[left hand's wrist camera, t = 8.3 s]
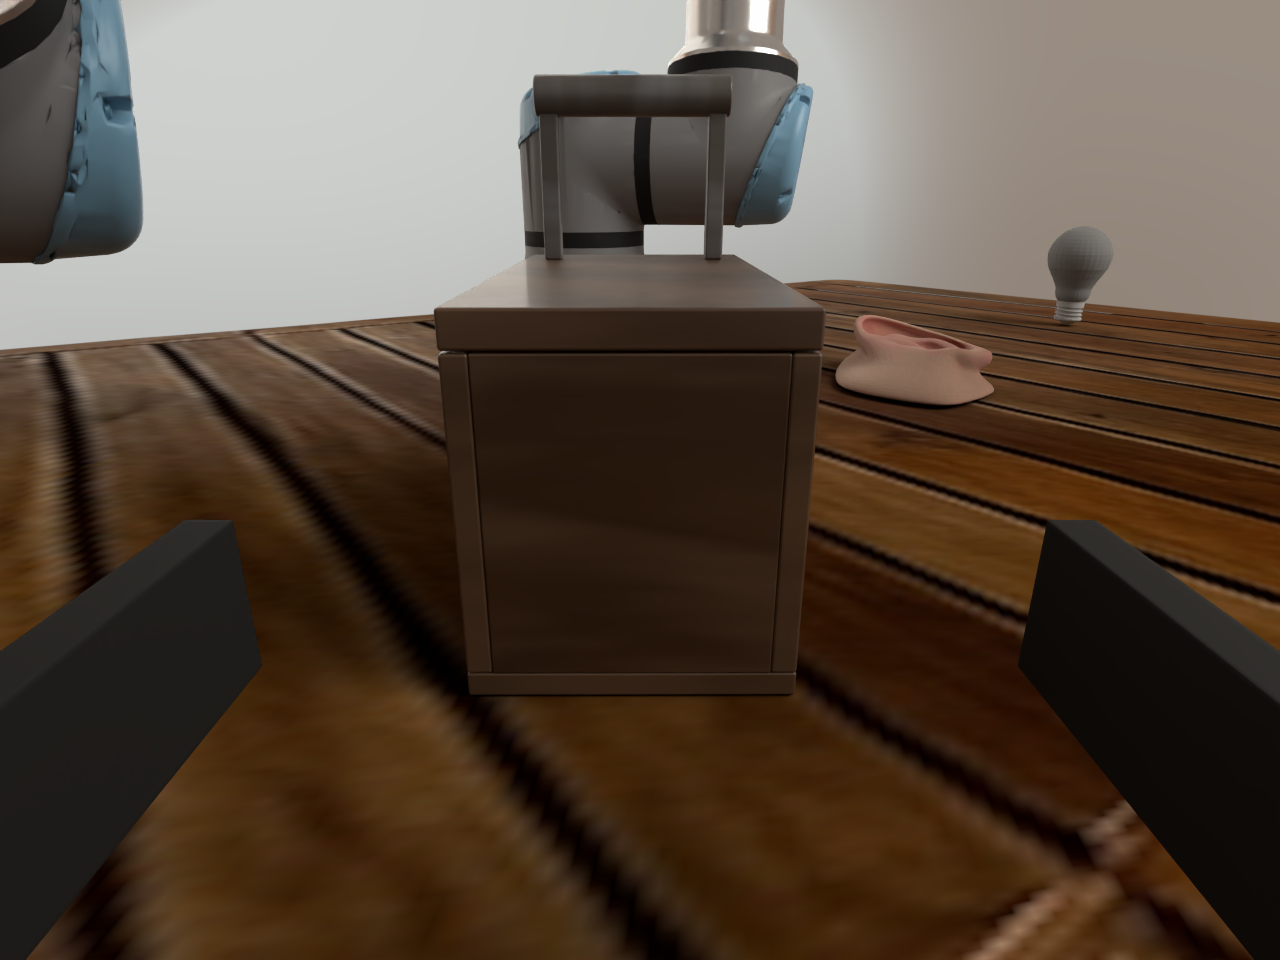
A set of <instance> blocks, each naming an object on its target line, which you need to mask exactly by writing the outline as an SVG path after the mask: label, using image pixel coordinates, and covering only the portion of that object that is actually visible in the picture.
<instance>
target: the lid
mask: <svg viewBox="0 0 1280 960" xmlns="http://www.w3.org/2000/svg"><path fill="white" fill-rule="evenodd" d="M732 97H733V80H732V76H731V75H534V78H533V100H534V109H535V114H536V116H537V117H539V125H540V149H541V172H542V196H543V220H544V244H545V255H532V256H531V257H529V258H527V259H525V260H523V261H521V262H520V263H518V264H516V265H514V266H512V267H510V268H508V269H507V270H505V271H503V272H501V273H499V274H497V275H496V276H494V277H492V278H490V279H488V280H486V281H485V282H483V283H481V284H479V285H477V286H475V287H474V288H472V289H470V290H468V291H466V292H464V293H462V294H461V295H459V296H457V297H455V298H453V299H451V300H449V301H448V302H446V303H444V304H442V305H440V306H438V307H437V308H435V309H434V320H435V330H436V341H437V348H438V350H440V351H819V350H822V348H823V344H824V332H825V320H826V309H825V308H824V307H822V306H820V305H819V304H817V303H815V302H814V301H812V300H810V299H809V298H807V297H805V296H803V295H802V294H800V293H798V292H797V291H795V290H793V289H792V288H790V287H788V286H786V285H785V284H783V283H781V282H779V281H778V280H776V279H774V278H773V277H771V276H769V275H768V274H766V273H764V272H763V271H761V270H759V269H757V268H756V267H754V266H752V265H751V264H749V263H747V262H746V261H744V260H742V259H740V258H739V257H737V256H735V255H722V237H723V209H724V181H725V153H726V125H727V117H729V116H730V114H731V108H732ZM559 117H708V124H707V159H706V195H705V231H704V255H563V234H562V205H561V175H560V146H559Z"/></svg>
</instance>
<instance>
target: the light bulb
mask: <svg viewBox="0 0 1280 960" xmlns="http://www.w3.org/2000/svg"><path fill="white" fill-rule="evenodd" d="M1112 258H1113V247H1112V244H1111V242H1110V240H1109V238H1108V237H1107V236H1106V234H1104V233H1103V232H1102V231H1100V230H1098V229H1096V228H1092V227H1078V228H1073V229H1071V230H1068V231H1066V232H1065V233H1063V234H1062V235H1061V236H1060V237H1058V238H1057V240H1056V241H1055V242H1054V243H1053V245H1052V246H1051V248H1050V250H1049V253H1048V267H1049V270H1050V272H1051V275H1052V277H1053V280H1054V283H1055V286H1056V290H1055V295H1056V298H1057V304H1056V306H1058V307H1056V309H1057V311H1055V313H1057V314H1056V315H1054V319H1056V320H1058V321H1060V323H1064V324H1073V323H1075V322H1077V321H1080V320H1081V319H1082V318H1080V316H1082V315H1081V312H1083V311H1081V310H1082V308H1084V304H1085V301H1086V300H1087V299H1088V298H1089V296H1090V293H1091V290H1092V288H1093V286H1094V285H1095V284H1096V282H1097V281H1098V280H1099V279H1100V278H1101V277H1102V275H1103V274H1104V273H1105V272H1106V270H1107V269H1108V267H1109V266H1110V263H1111V261H1112Z"/></svg>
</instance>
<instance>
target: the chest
mask: <svg viewBox="0 0 1280 960" xmlns="http://www.w3.org/2000/svg"><path fill="white" fill-rule="evenodd" d="M822 357H823V356H822V354H821V353H820V352H819V351H442V352H441V353H440V354H439V355H438V363H439V374H440V385H441V395H442V406H443V417H444V428H445V438H446V449H447V460H448V471H449V481H450V492H451V503H452V514H453V524H454V535H455V546H456V556H457V567H458V578H459V589H460V599H461V610H462V621H463V632H464V642H465V653H466V664H467V671H468V674H467V677H468V688H469V694H470V695H663V694H794V692H795V681H796V672H795V671H796V668H797V656H798V644H799V632H800V620H801V608H802V596H803V584H804V572H805V560H806V548H807V536H808V524H809V512H810V500H811V488H812V476H813V465H814V453H815V441H816V429H817V417H818V405H819V393H820V381H821V369H822Z"/></svg>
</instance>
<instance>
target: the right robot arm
mask: <svg viewBox="0 0 1280 960" xmlns="http://www.w3.org/2000/svg"><path fill="white" fill-rule="evenodd" d="M784 7H785V0H687V12H686V43H685V46H684V47H683V48H682V49H681V50H680V51H679V52H678V53H677V54H676V56H675V57H674V58H673V59H672V60H671V61H670V62H669V64H668V75H731V76H732V80H733V97H732V108H731V114H730V116H729V117H727V125H726V153H725V181H724V209H723V225H735V227H739V228H740V227H742V226H743V225H759V224H774V223H777V222H779V221H781V220H782V219H784V218H785V217H786V215H787V214H788V213H789V211H790V209H791V206H792V202H793V197H794V192H795V187H796V182H797V177H798V172H799V167H800V162H801V157H802V151H803V146H804V141H805V135H806V129H807V124H808V118H809V113H810V108H811V103H812V97H813V90H812V88H811V87H810V86H806V85H805V84H804V83H803V84H798V85H797V78H798V62H797V60H796V59H795V58H794V57H793V56H792V54H791V53H790V52H789V51H788V50H787V49H786V48H785V47H784V45H783V43H782V42H783V24H784ZM575 75H641V74H640V73H637V72H634V71H628V70H615V71H609V72H606V71H595V72H587V73H580V74H575ZM707 124H708V117H559V146H560V175H561V205H562V234H563V255H644V231H643V230H644V225H705V195H706V159H707ZM518 147H519V149H520V159H521V176H522V194H523V212H524V229H525V247H526V255H525V259H527V258H529V257H531V256H532V255H545V244H544V220H543V196H542V172H541V149H540V125H539V117H537V116H536V114H535V109H534V100H533V88H531V89H530V90H529V91H528V92H527V93H526V94H525V95H524V97H523V99H522V101H521V104H520V138H519V141H518Z"/></svg>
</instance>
